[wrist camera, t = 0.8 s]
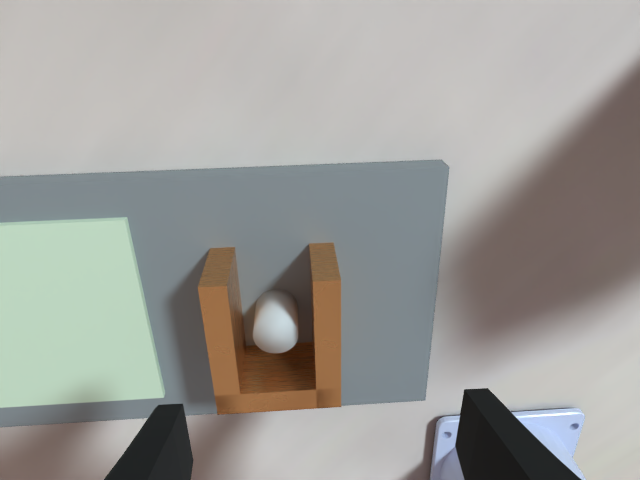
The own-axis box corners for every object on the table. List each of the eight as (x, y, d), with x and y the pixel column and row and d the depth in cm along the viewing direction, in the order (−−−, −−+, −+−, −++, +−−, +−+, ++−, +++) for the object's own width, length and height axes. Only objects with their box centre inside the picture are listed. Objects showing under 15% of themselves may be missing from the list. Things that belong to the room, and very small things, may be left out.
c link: (334, 358, 22) (341, 406, 19) (226, 364, 22) (217, 414, 19) (333, 242, 19) (341, 280, 17) (210, 247, 19) (197, 287, 16)
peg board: (420, 386, 24) (436, 432, 22) (-63, 415, 23) (-108, 469, 21) (441, 159, 19) (467, 184, 16) (-181, 183, 18) (-263, 214, 15)
